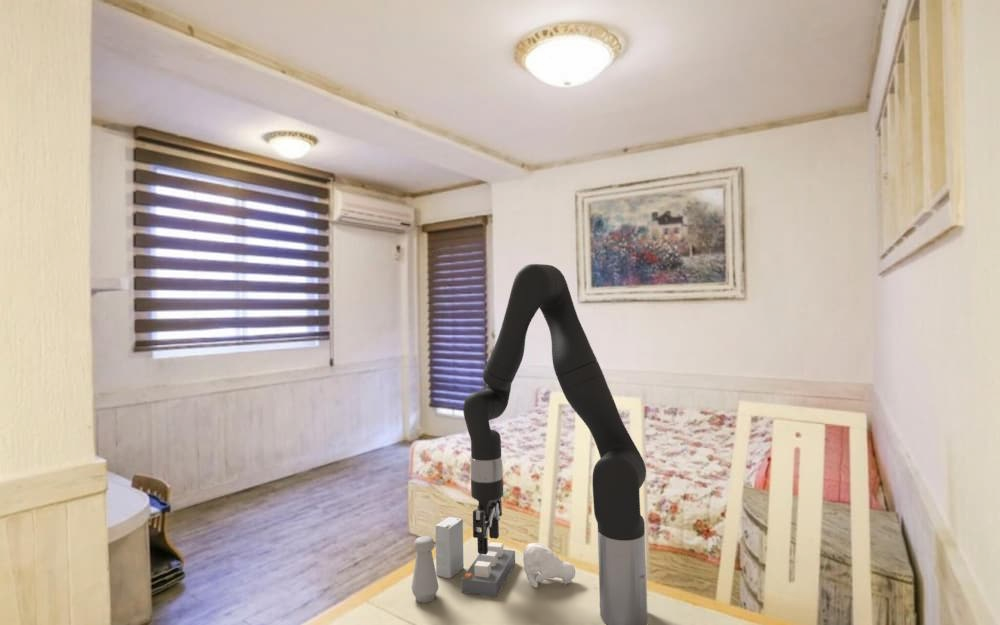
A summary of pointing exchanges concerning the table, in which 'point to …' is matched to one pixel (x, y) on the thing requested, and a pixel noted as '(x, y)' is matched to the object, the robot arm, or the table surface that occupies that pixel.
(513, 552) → the panel
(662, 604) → the table surface
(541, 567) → the whiskered white figurine
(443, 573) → the skincare box
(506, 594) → the table surface
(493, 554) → the block
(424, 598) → the salt shaker
